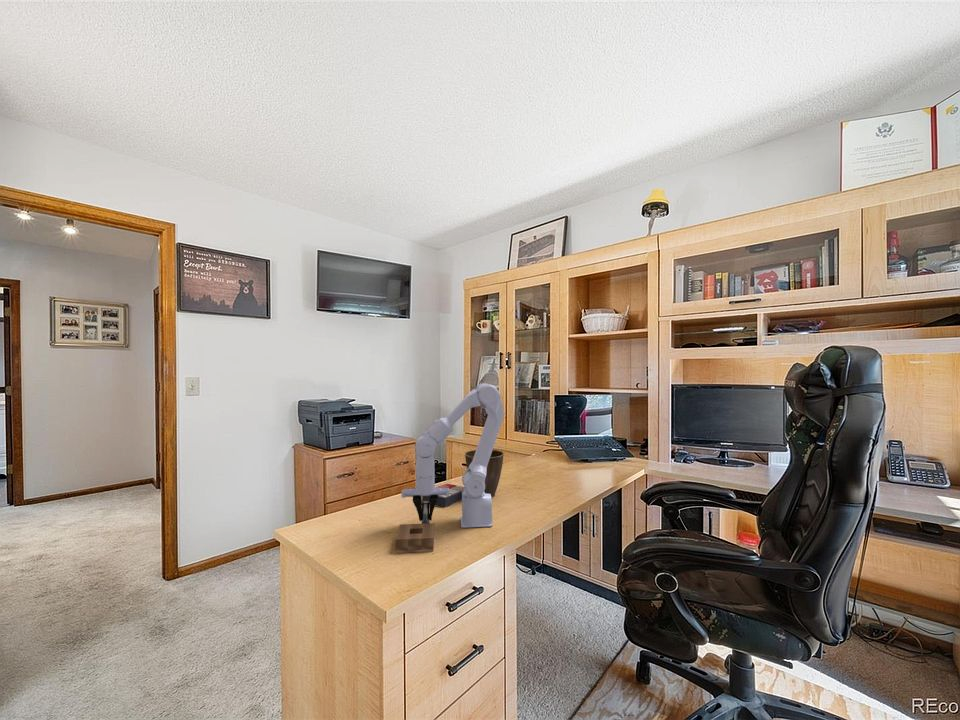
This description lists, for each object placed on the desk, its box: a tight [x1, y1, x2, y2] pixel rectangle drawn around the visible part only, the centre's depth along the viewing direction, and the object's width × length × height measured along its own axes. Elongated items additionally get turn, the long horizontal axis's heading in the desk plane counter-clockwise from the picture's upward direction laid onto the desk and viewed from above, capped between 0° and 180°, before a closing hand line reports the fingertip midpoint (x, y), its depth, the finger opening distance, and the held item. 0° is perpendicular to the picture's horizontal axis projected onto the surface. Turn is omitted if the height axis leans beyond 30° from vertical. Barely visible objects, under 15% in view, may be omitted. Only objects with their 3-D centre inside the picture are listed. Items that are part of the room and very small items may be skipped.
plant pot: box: [464, 449, 505, 498], centre depth 150 cm, size 15×15×16 cm
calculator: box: [421, 483, 465, 509], centre depth 147 cm, size 11×4×15 cm
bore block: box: [394, 522, 436, 554], centre depth 110 cm, size 10×10×4 cm
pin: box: [421, 501, 431, 524], centre depth 122 cm, size 2×2×7 cm
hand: (425, 519), depth 122 cm, fingers closed on pin, 2 cm apart
